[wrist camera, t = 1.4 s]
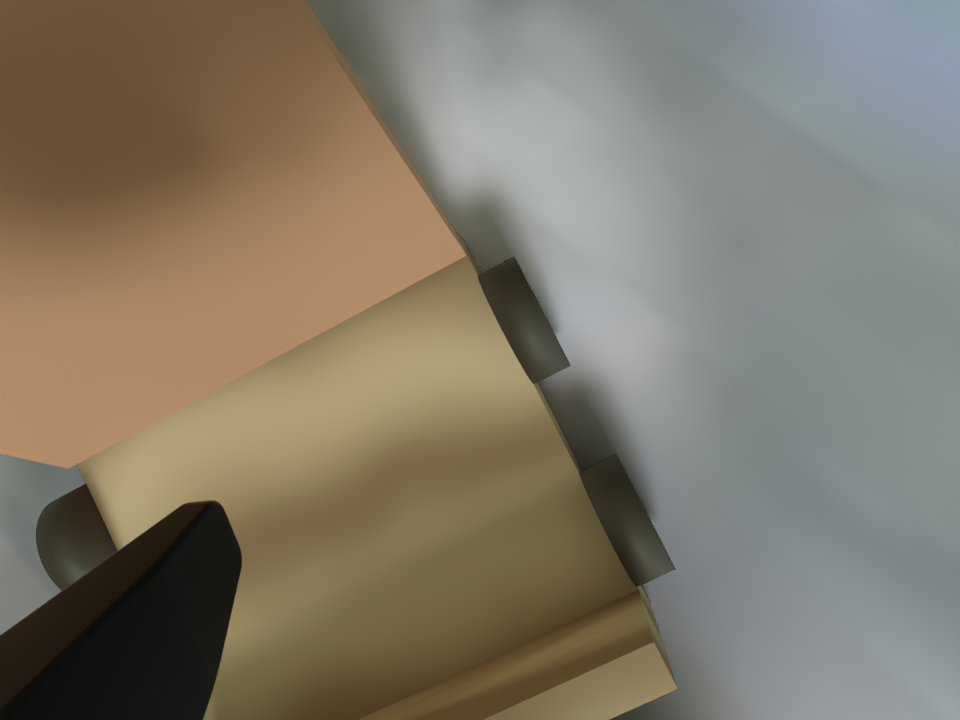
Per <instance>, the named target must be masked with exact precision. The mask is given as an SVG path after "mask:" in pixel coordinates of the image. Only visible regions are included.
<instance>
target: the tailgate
mask: <svg viewBox="0 0 960 720" xmlns="http://www.w3.org/2000/svg"><path fill="white" fill-rule="evenodd" d="M465 256H467V255H466V253H465V251H464V249H463V247H462V245H461V243H460V241H459V239H458V237H457V235H456V233H455V230H454V228H453V226H452V224H451V223H450V221H449V220H448V218H447V216H446V215H445V213H444V212H443V210H442V209H441V207H440V206H439V204H438V203H437V201H436V199H435V198H434V196H433V195H432V193H431V192H430V190H429V189H428V187H427V186H426V184H425V183H424V181H423V179H422V178H421V176H420V175H419V173H418V172H417V170H416V169H415V167H414V166H413V164H412V163H411V161H410V159H409V158H408V156H407V155H406V153H405V152H404V150H403V149H402V147H401V146H400V144H399V142H398V141H397V139H396V138H395V136H394V135H393V133H392V132H391V130H390V129H389V127H388V126H387V124H386V122H385V121H384V119H383V118H382V116H381V115H380V113H379V112H378V110H377V109H376V107H375V106H374V104H373V102H372V101H371V99H370V98H369V96H368V95H367V93H366V92H365V90H364V89H363V87H362V86H361V84H360V82H359V81H358V79H357V78H356V76H355V75H354V73H353V72H352V70H351V69H350V67H349V65H348V64H347V62H346V61H345V59H344V58H343V56H342V55H341V53H340V52H339V50H338V49H337V47H336V45H335V44H334V42H333V41H332V39H331V38H330V36H329V35H328V33H327V32H326V30H325V29H324V27H323V25H322V24H321V22H320V21H319V19H318V18H317V16H316V15H315V13H314V12H313V10H312V8H311V7H310V5H309V4H308V2H307V1H306V0H0V454H4V455H8V456H13V457H18V458H22V459H27V460H31V461H36V462H40V463H45V464H49V465H54V466H59V467H63V468H68V469H69V468H71V467H72V466H74V465H76V464H78V463H80V462H82V461H84V460H85V459H87V458H89V457H91V456H93V455H95V454H97V453H99V452H100V451H102V450H104V449H106V448H108V447H110V446H112V445H114V444H115V443H117V442H119V441H121V440H123V439H125V438H127V437H128V436H130V435H132V434H134V433H136V432H138V431H140V430H142V429H143V428H145V427H147V426H149V425H151V424H153V423H155V422H156V421H158V420H160V419H162V418H164V417H166V416H168V415H170V414H171V413H173V412H175V411H177V410H179V409H181V408H183V407H185V406H186V405H188V404H190V403H192V402H194V401H196V400H198V399H199V398H201V397H203V396H205V395H207V394H209V393H211V392H213V391H214V390H216V389H218V388H220V387H222V386H224V385H226V384H227V383H229V382H231V381H233V380H235V379H237V378H239V377H241V376H242V375H244V374H246V373H248V372H250V371H252V370H254V369H256V368H257V367H259V366H261V365H263V364H265V363H267V362H269V361H270V360H272V359H274V358H276V357H278V356H280V355H282V354H284V353H285V352H287V351H289V350H291V349H293V348H295V347H297V346H298V345H300V344H302V343H304V342H306V341H308V340H310V339H312V338H313V337H315V336H317V335H319V334H321V333H323V332H325V331H326V330H328V329H330V328H332V327H334V326H336V325H338V324H340V323H341V322H343V321H345V320H347V319H349V318H351V317H353V316H355V315H356V314H358V313H360V312H362V311H364V310H366V309H368V308H369V307H371V306H373V305H375V304H377V303H379V302H381V301H383V300H384V299H386V298H388V297H390V296H392V295H394V294H396V293H397V292H399V291H401V290H403V289H405V288H407V287H409V286H411V285H412V284H414V283H416V282H418V281H420V280H422V279H424V278H426V277H427V276H429V275H431V274H433V273H435V272H437V271H439V270H440V269H442V268H444V267H446V266H448V265H450V264H452V263H454V262H455V261H457V260H459V259H461V258H463V257H465Z"/></svg>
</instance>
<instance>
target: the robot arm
mask: <svg viewBox="0 0 960 720" xmlns="http://www.w3.org/2000/svg"><path fill="white" fill-rule="evenodd" d="M241 568H242V553H241V549H240V546H239V543H238V541H237V539H236V536H235V534H234V531H233V529H232V526H231V524H230V522H229V519H228V517H227V514H226V512H225V510H224V508H223V506H222V505H221V504H220V503H219V502H217V501H215V500H208V501H197V502H188V503H185V504H183V505H181V506H180V507H178V508H177V509H176V510H174V511H173V512H171V513H170V514H169V515H167V516H166V517H164V518H163V519H162V520H160V521H159V522H157V523H156V524H155V525H153V526H152V527H150V528H149V529H148V530H146V531H145V532H144V533H142V534H141V535H139V536H138V537H137V538H135V539H134V540H132V541H131V542H130V543H128V544H127V545H125V546H124V547H123V548H121V549H120V550H118V551H117V552H116V553H114V554H113V555H112V556H110V557H109V558H107V559H106V560H105V561H103V562H102V563H100V564H99V565H98V566H96V567H95V568H93V569H92V570H91V571H89V572H88V573H86V574H85V575H84V576H82V577H81V578H80V579H78V580H77V581H75V582H74V583H73V584H71V585H70V586H68V587H67V588H66V589H64V590H63V591H61V592H60V593H59V594H57V595H56V596H55V597H53V598H52V599H50V600H49V601H48V602H46V603H45V604H43V605H42V606H41V607H39V608H38V609H36V610H35V611H34V612H32V613H31V614H29V615H28V616H27V617H25V618H24V619H23V620H21V621H20V622H18V623H17V624H16V625H14V626H13V627H11V628H10V629H9V630H7V631H6V632H4V633H3V634H2V635H0V720H203V718H204V715H205V713H206V710H207V707H208V704H209V701H210V697H211V694H212V691H213V688H214V685H215V682H216V678H217V674H218V670H219V666H220V662H221V658H222V653H223V649H224V644H225V640H226V635H227V631H228V627H229V622H230V618H231V613H232V609H233V604H234V600H235V595H236V591H237V586H238V582H239V578H240V573H241Z"/></svg>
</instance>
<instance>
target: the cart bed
mask: <svg viewBox="0 0 960 720" xmlns="http://www.w3.org/2000/svg"><path fill="white" fill-rule="evenodd" d="M454 230H455V229H454ZM455 233H456V235H457V237H458V239H459V241H460V243H461V245H462V247H463V249H464V251H465V253H466V255H467V256H465V257H463V258H461V259H459V260H457V261H455V262H454V263H452V264H450V265H448V266H446V267H444V268H442V269H440V270H439V271H437V272H435V273H433V274H431V275H429V276H427V277H426V278H424V279H422V280H420V281H418V282H416V283H414V284H412V285H411V286H409V287H407V288H405V289H403V290H401V291H399V292H397V293H396V294H394V295H392V296H390V297H388V298H386V299H384V300H383V301H381V302H379V303H377V304H375V305H373V306H371V307H369V308H368V309H366V310H364V311H362V312H360V313H358V314H356V315H355V316H353V317H351V318H349V319H347V320H345V321H343V322H341V323H340V324H338V325H336V326H334V327H332V328H330V329H328V330H326V331H325V332H323V333H321V334H319V335H317V336H315V337H313V338H312V339H310V340H308V341H306V342H304V343H302V344H300V345H298V346H297V347H295V348H293V349H291V350H289V351H287V352H285V353H284V354H282V355H280V356H278V357H276V358H274V359H272V360H270V361H269V362H267V363H265V364H263V365H261V366H259V367H257V368H256V369H254V370H252V371H250V372H248V373H246V374H244V375H242V376H241V377H239V378H237V379H235V380H233V381H231V382H229V383H227V384H226V385H224V386H222V387H220V388H218V389H216V390H214V391H213V392H211V393H209V394H207V395H205V396H203V397H201V398H199V399H198V400H196V401H194V402H192V403H190V404H188V405H186V406H185V407H183V408H181V409H179V410H177V411H175V412H173V413H171V414H170V415H168V416H166V417H164V418H162V419H160V420H158V421H156V422H155V423H153V424H151V425H149V426H147V427H145V428H143V429H142V430H140V431H138V432H136V433H134V434H132V435H130V436H128V437H127V438H125V439H123V440H121V441H119V442H117V443H115V444H114V445H112V446H110V447H108V448H106V449H104V450H102V451H100V452H99V453H97V454H95V455H93V456H91V457H89V458H87V459H85V460H84V461H82V462H80V463H78V464H77V465H78V467H79V469H80V472H81V474H82V476H83V478H84V480H85V482H86V484H84V485H83V486H81V487H79V488H77V489H75V490H73V491H71V492H69V493H68V494H66V495H64V496H62V497H60V498H58V499H56V500H54V501H53V502H51V503H50V504H48V505H47V506H46V507H45V508H44V510H43V511H42V513H41V515H40V517H39V520H38V523H37V528H36V543H37V549H38V553H39V556H40V559H41V562H42V564H43V566H44V568H45V570H46V572H47V574H48V575H49V577H50V578H51V579H52V581H53V582H54V583H55V584H56V585H57V586H58V587H59V588H60V589H61V590H62V591H63V590H64V589H66V588H67V587H68V586H70V585H71V584H73V583H74V582H75V581H77V580H78V579H80V578H81V577H82V576H84V575H85V574H86V573H88V572H89V571H91V570H92V569H93V568H95V567H96V566H98V565H99V564H100V563H102V562H103V561H105V560H106V559H107V558H109V557H110V556H112V555H113V554H114V553H116V552H117V551H118V550H120V549H121V548H123V547H124V546H125V545H127V544H128V543H130V542H131V541H132V540H134V539H135V538H137V537H138V536H139V535H141V534H142V533H144V532H145V531H146V530H148V529H149V528H150V527H152V526H153V525H155V524H156V523H157V522H159V521H160V520H162V519H163V518H164V517H166V516H167V515H169V514H170V513H171V512H173V511H174V510H176V509H177V508H178V507H180V506H181V505H183V504H185V503H188V502H197V501H208V500H215V501H217V502H219V503H220V504H221V505H222V506H223V508H224V510H225V512H226V514H227V517H228V519H229V522H230V524H231V526H232V529H233V531H234V534H235V536H236V539H237V541H238V543H239V546H240V549H241V553H242V568H241V573H240V578H239V582H238V586H237V591H236V595H235V600H234V604H233V609H232V613H231V618H230V622H229V627H228V631H227V635H226V640H225V644H224V649H223V653H222V658H221V662H220V666H219V670H218V674H217V678H216V682H215V685H214V688H213V691H212V694H211V697H210V701H209V704H208V707H207V710H206V713H205V715H204V718H203V720H609V719H612V718H614V717H616V716H618V715H621V714H623V713H625V712H627V711H630V710H632V709H634V708H636V707H639V706H641V705H643V704H645V703H647V702H650V701H652V700H654V699H656V698H659V697H661V696H663V695H665V694H668V693H670V692H672V691H674V690H677V689H678V688H677V685H676V682H675V679H674V676H673V672H672V669H671V666H670V663H669V660H668V657H667V654H666V651H665V647H664V644H663V641H662V638H661V635H660V632H659V629H658V626H657V622H656V619H655V616H654V613H653V610H652V607H651V604H650V602H649V600H648V598H647V596H646V594H645V592H644V590H643V588H642V586H641V585H642V584H645V583H647V582H649V581H651V580H653V579H655V578H657V577H660V576H662V575H664V574H666V573H668V572H670V571H672V570H675V567H674V565H673V563H672V561H671V559H670V557H669V555H668V553H667V551H666V549H665V547H664V545H663V543H662V541H661V539H660V538H659V536H658V534H657V532H656V530H655V528H654V526H653V524H652V522H651V520H650V518H649V516H648V514H647V512H646V510H645V508H644V506H643V504H642V502H641V501H640V499H639V497H638V495H637V493H636V491H635V489H634V487H633V485H632V483H631V481H630V479H629V477H628V475H627V473H626V472H625V470H624V468H623V466H622V464H621V462H620V460H619V458H618V456H617V455H616V454H615V455H613V456H611V457H609V458H606V459H604V460H602V461H600V462H598V463H596V464H594V465H592V466H590V467H588V468H586V469H584V470H582V469H581V467H580V465H579V464H578V462H577V460H576V458H575V456H574V454H573V452H572V450H571V448H570V446H569V444H568V442H567V440H566V438H565V436H564V434H563V432H562V430H561V428H560V426H559V424H558V423H557V421H556V419H555V417H554V415H553V413H552V411H551V409H550V407H549V405H548V403H547V401H546V399H545V397H544V395H543V393H542V391H541V389H540V387H539V385H538V384H537V382H539V381H541V380H543V379H545V378H547V377H549V376H551V375H553V374H555V373H557V372H559V371H561V370H563V369H565V368H567V367H569V366H570V363H569V361H568V359H567V357H566V356H565V354H564V352H563V350H562V348H561V346H560V344H559V342H558V340H557V338H556V336H555V334H554V332H553V330H552V328H551V326H550V324H549V322H548V320H547V318H546V316H545V315H544V313H543V311H542V309H541V307H540V305H539V303H538V301H537V299H536V297H535V295H534V293H533V291H532V289H531V288H530V286H529V284H528V282H527V280H526V278H525V276H524V274H523V272H522V270H521V268H520V266H519V265H518V263H517V261H516V259H515V257H512V258H510V259H508V260H506V261H505V262H503V263H501V264H499V265H497V266H495V267H493V268H491V269H489V270H488V271H486V272H484V273H482V274H481V272H480V270H479V268H478V266H477V264H476V263H475V261H474V259H473V257H472V255H471V253H470V251H469V249H468V247H467V245H466V243H465V241H464V239H463V238H462V237H461V236H460V234H459V233H458V232H457V231H456V230H455Z"/></svg>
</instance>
